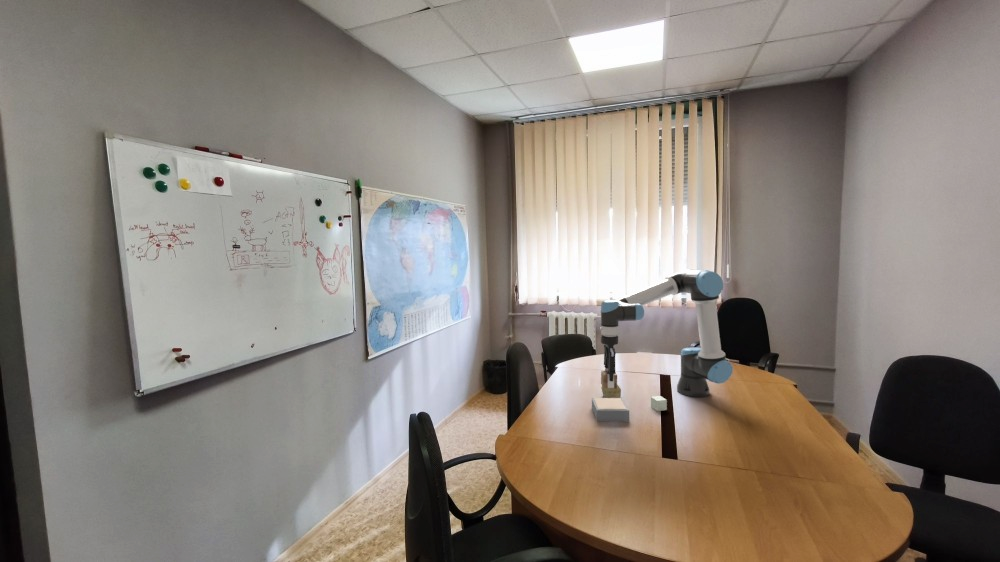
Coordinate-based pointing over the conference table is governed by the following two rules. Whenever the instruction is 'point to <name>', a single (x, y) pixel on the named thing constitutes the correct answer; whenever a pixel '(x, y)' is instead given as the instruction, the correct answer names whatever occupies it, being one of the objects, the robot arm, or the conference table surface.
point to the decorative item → (611, 392)
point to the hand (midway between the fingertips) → (609, 384)
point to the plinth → (610, 409)
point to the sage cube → (658, 403)
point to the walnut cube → (605, 379)
